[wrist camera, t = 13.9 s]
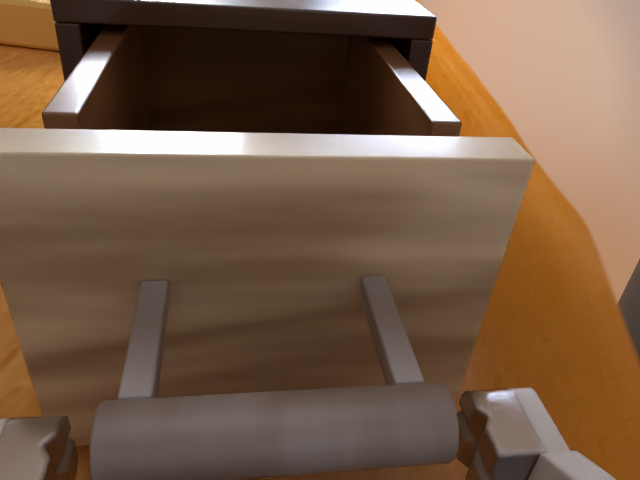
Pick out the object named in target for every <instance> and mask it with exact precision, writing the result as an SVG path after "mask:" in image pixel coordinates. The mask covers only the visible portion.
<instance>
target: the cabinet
mask: <svg viewBox="0 0 640 480" xmlns="http://www.w3.org/2000/svg"><path fill="white" fill-rule="evenodd" d="M50 4H51V9H52V15H53V19H54V21H55V31H56V36H57V42H58V48H59V53H60V59H61V64H62V70H63V75H64V81H65V80H66V79H67V78H68V76H69V75H70V74H71V72H72V71H73V69H74V68H75V67H76V65H77V64H78V63H79V61H80V60H81V58H82V57H83V56H84V54H85V53H86V52H87V50H88V49H89V48H90V46H91V45H92V43H93V42H94V41H95V39H96V38H97V37H98V35H99V34H100V32H101V31H102V30H103V28H104V27H105V26H106V24H107V25H128V26H149V27H170V28H191V29H211V30H232V31H253V32H274V33H295V34H315V35H336V36H357V37H378V38H387V39H388V40H389V41H390V42H391V44H392V45H393V46H394V47H395V48H396V49H397V50H398V51H399V53H400V54H401V55H402V56H403V57H404V58H405V59H406V60H407V62H408V63H409V64H410V65H411V66H412V67H413V68H414V69H415V71H416V72H417V73H418V74H419V75H420V76H421V77H422V78H423V80H424V81H425V80H426V74H427V69H428V64H429V58H430V53H431V48H432V39H433V35H434V30H435V25H436V17H435V16H434V15H433V14H431V13H430V12H429V11H427V10H426V9H425V8H424V7H422V6H421V5H420V4H418V3H417V2H416V1H414V0H50Z"/></svg>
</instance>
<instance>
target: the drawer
mask: <svg viewBox="0 0 640 480" xmlns="http://www.w3.org/2000/svg"><path fill="white" fill-rule="evenodd" d="M42 118H43V123H44V128H45V129H33V128H0V281H1V285H2V288H3V291H4V294H5V298H6V301H7V304H8V307H9V310H10V314H11V317H12V320H13V323H14V327H15V330H16V333H17V336H18V340H19V343H20V346H21V349H22V352H23V356H24V359H25V362H26V365H27V369H28V372H29V375H30V378H31V382H32V385H33V388H34V391H35V394H36V398H37V401H38V404H39V407H40V411H41V414H42V417H50V416H68V419H69V422H70V425H71V429H70V433H69V436H68V437H69V438H71V439H73V440H74V441H75V443H76V446H87V445H90V449H89V466H90V476H91V480H242V479H255V478H267V477H280V476H292V475H305V474H318V473H330V472H343V471H356V470H368V469H381V468H393V467H406V466H419V465H431V464H444V463H450V462H452V461H453V460H454V459H455V457H456V455H457V451H458V446H459V424H458V417H457V412H456V408H455V403H456V400H457V397H458V394H459V391H460V388H461V385H462V382H463V379H464V376H465V373H466V370H467V366H468V363H469V360H470V357H471V354H472V351H473V348H474V345H475V342H476V339H477V336H478V333H479V330H480V327H481V324H482V321H483V318H484V315H485V311H486V308H487V305H488V302H489V299H490V296H491V293H492V290H493V287H494V284H495V281H496V278H497V275H498V272H499V269H500V266H501V263H502V260H503V256H504V253H505V250H506V247H507V244H508V241H509V238H510V235H511V232H512V229H513V226H514V223H515V220H516V217H517V214H518V211H519V208H520V205H521V201H522V198H523V195H524V192H525V189H526V186H527V183H528V180H529V177H530V174H531V171H532V168H533V165H534V158H533V157H532V156H531V155H529V154H528V153H527V152H526V151H525V150H524V149H523V148H522V147H521V146H520V145H519V144H518V143H517V142H516V141H515V140H514V139H513V138H501V137H459V134H460V129H461V125H462V123H461V121H460V120H459V119H458V118H457V117H456V116H455V114H454V113H453V112H452V111H451V110H450V109H449V108H448V107H447V105H446V104H445V103H444V102H443V101H442V100H441V99H440V98H439V96H438V95H437V94H436V93H435V92H434V91H433V90H432V89H431V87H430V86H429V85H428V84H427V83H426V82H425V81H424V80H423V78H422V77H421V76H420V75H419V74H418V73H417V72H416V71H415V69H414V68H413V67H412V66H411V65H410V64H409V63H408V62H407V60H406V59H405V58H404V57H403V56H402V55H401V54H400V53H399V51H398V50H397V49H396V48H395V47H394V46H393V45H392V44H391V42H390V41H389V40H388V39H387V38H378V37H357V36H336V35H315V34H295V33H274V32H253V31H232V30H211V29H191V28H170V27H149V26H128V25H107V24H106V26H105V27H104V28H103V30H102V31H101V32H100V34H99V35H98V37H97V38H96V39H95V41H94V42H93V43H92V45H91V46H90V48H89V49H88V50H87V52H86V53H85V54H84V56H83V57H82V58H81V60H80V61H79V63H78V64H77V65H76V67H75V68H74V69H73V71H72V72H71V74H70V75H69V76H68V78H67V79H66V80H65V82H64V83H63V85H62V86H61V87H60V89H59V90H58V91H57V93H56V94H55V95H54V97H53V98H52V100H51V101H50V102H49V104H48V105H47V106H46V108H45V109H44V111H43V112H42Z"/></svg>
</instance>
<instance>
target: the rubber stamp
mask: <svg viewBox="0 0 640 480" xmlns="http://www.w3.org/2000/svg"><path fill="white" fill-rule="evenodd" d="M0 44H5V45H13V46H21V47H30V48H38V49H46V50H55V51H59V48H58V42H57V36H56V31H55V21H54V19H53V15H52V9H51V4H50V0H0Z"/></svg>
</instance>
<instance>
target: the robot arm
mask: <svg viewBox="0 0 640 480" xmlns="http://www.w3.org/2000/svg"><path fill="white" fill-rule="evenodd" d="M459 404H460V407H461V409H462V410H461V411H460V412H459V413H458V414H457V417H458V424H459V446H458V451H457V455H456V456H457V458H458V460H459V461H460V462H461V463H463V464H464V465H465V466H466V467H467V468H468V471H467V474H466V478H465V479H466V480H617V479H615V478H614V477H612V476H611V475H610V474H608V473H607V472H606V471H604V470H603V469H601V468H600V467H599V466H597V465H596V464H595V463H593V462H592V461H590V460H589V459H588V458H586V457H585V456H584V455H582V454H581V453H579V452H578V451H570V449H569V447H568V446H567V444H566V442H565V441H564V439H563V437H562V435H561V434H560V432H559V430H558V429H557V427H556V425H555V424H554V422H553V420H552V419H551V417H550V415H549V413H548V412H547V410H546V408H545V407H544V405H543V403H542V402H541V400H540V398H539V396H538V395H537V393H536V391H534V390H533V389H532V388H514V389H506V388H505V389H491V390H478V391H465V392H464V393H463V394H462V395H461V398H460V401H459ZM70 429H71V425H70V422H69V419H68V416H50V417H20V418H0V480H76V475H77V464H78V455H77V447H76V443H75V441H74V440H73V439H71V438H69V437H68V436H69V433H70Z"/></svg>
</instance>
